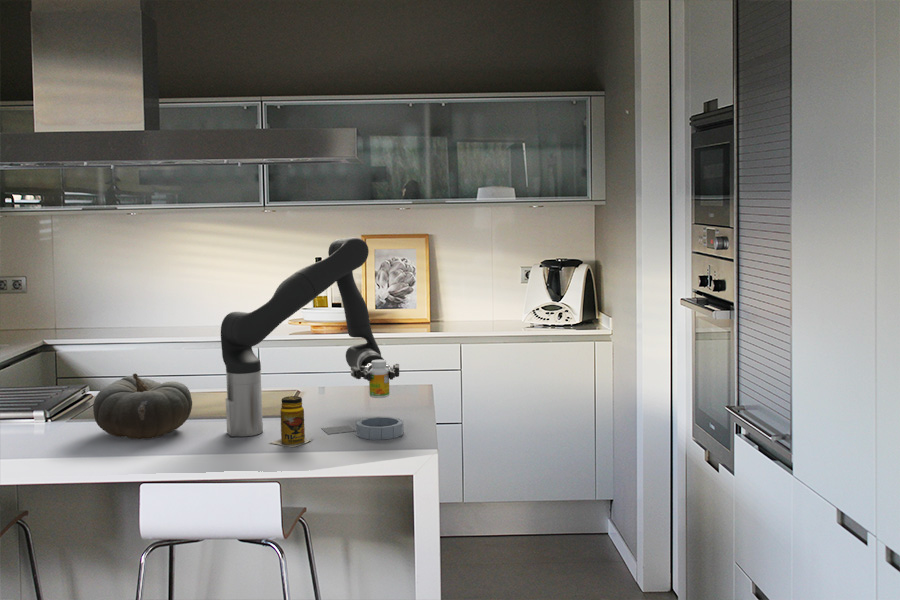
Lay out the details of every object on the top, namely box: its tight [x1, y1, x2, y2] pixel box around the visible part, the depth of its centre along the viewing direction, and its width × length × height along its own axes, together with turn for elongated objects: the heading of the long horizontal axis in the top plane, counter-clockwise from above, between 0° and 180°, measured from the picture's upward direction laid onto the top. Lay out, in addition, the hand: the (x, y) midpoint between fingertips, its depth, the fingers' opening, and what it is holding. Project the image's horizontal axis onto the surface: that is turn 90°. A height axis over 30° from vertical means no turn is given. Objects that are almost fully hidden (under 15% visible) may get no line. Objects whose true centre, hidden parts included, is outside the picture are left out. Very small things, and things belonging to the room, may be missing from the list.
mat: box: [320, 425, 356, 435], centre depth 238 cm, size 8×7×1 cm
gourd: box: [92, 372, 193, 440], centre depth 236 cm, size 25×25×17 cm
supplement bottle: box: [368, 359, 390, 399], centre depth 232 cm, size 5×5×10 cm
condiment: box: [270, 395, 312, 448], centre depth 225 cm, size 7×8×12 cm
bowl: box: [355, 416, 405, 441], centre depth 233 cm, size 12×12×3 cm
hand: (380, 376), depth 229 cm, fingers closed on supplement bottle, 5 cm apart
